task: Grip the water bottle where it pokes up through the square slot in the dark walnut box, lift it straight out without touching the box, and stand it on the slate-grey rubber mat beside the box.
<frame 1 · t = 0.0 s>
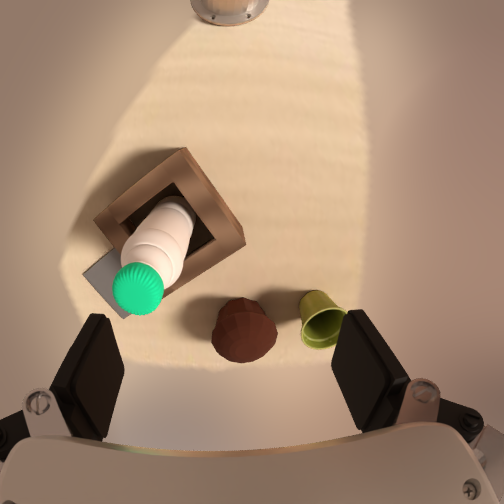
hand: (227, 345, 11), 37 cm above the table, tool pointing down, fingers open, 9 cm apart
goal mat: (123, 281, 50), on the table
muffin: (241, 315, 55), on the table
plant pot: (313, 302, 56), on the table
slot box: (174, 215, 46), on the table
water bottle: (175, 215, 46), resting in slot box
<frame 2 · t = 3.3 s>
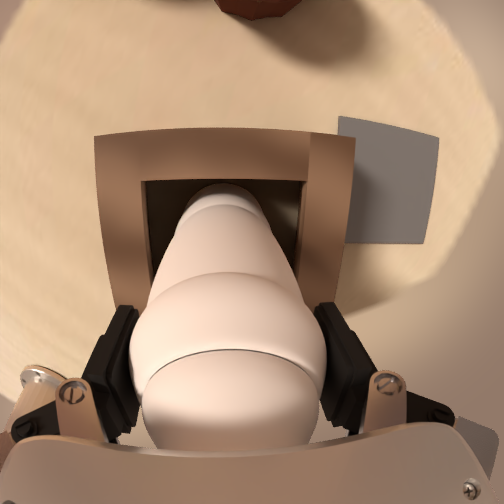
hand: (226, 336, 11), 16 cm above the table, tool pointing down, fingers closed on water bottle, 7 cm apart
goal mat: (388, 185, 26), on the table
slot box: (222, 220, 26), on the table
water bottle: (222, 220, 26), resting in slot box, touching gripper
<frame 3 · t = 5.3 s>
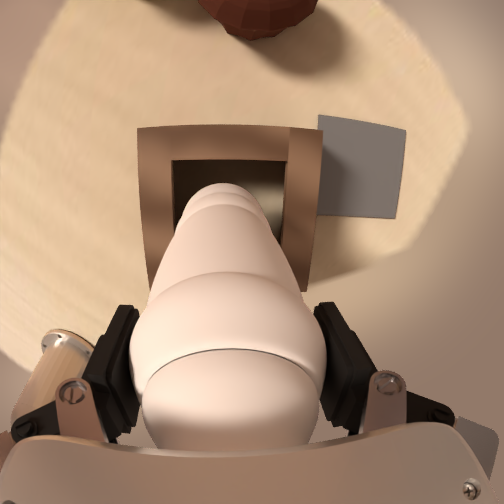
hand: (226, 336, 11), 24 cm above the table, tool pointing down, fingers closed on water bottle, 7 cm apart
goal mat: (360, 169, 33), on the table
muffin: (252, 10, 24), on the table
slot box: (227, 195, 33), on the table
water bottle: (222, 219, 26), point 8 cm above the table, touching gripper
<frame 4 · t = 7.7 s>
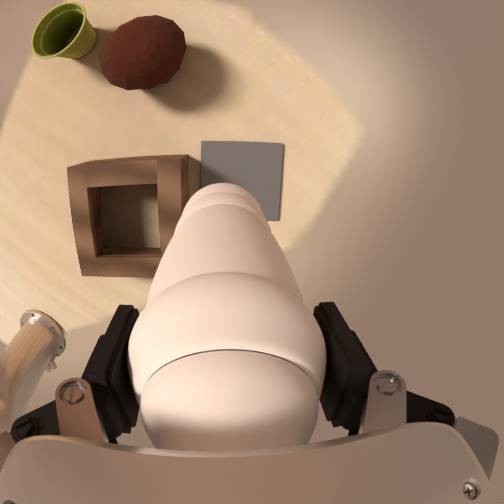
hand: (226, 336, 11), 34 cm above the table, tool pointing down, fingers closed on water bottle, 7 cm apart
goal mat: (241, 180, 43), on the table
muffin: (152, 62, 34), on the table
plant pot: (81, 42, 30), on the table
slot box: (138, 207, 42), on the table
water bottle: (222, 219, 26), point 18 cm above the table, touching gripper
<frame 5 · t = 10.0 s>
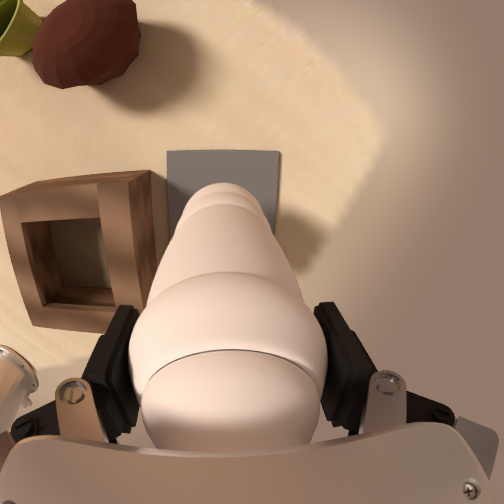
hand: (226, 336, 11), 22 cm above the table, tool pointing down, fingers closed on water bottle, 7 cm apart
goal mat: (222, 203, 32), on the table
muffin: (105, 50, 23), on the table
plant pot: (27, 36, 19), on the table
slot box: (94, 239, 32), on the table
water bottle: (222, 219, 26), point 7 cm above the table, touching gripper
when the fingers open (17 cm above the table, at t = 12.0 s): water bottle drops 1 cm, resting on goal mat.
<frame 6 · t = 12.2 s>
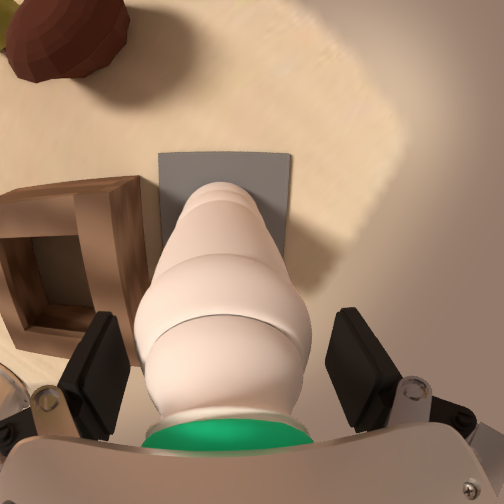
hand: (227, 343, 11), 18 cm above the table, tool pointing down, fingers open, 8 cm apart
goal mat: (223, 214, 27), on the table
muffin: (89, 39, 19), on the table
plant pot: (9, 28, 15), on the table
slot box: (79, 254, 27), on the table
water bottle: (220, 216, 27), resting on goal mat
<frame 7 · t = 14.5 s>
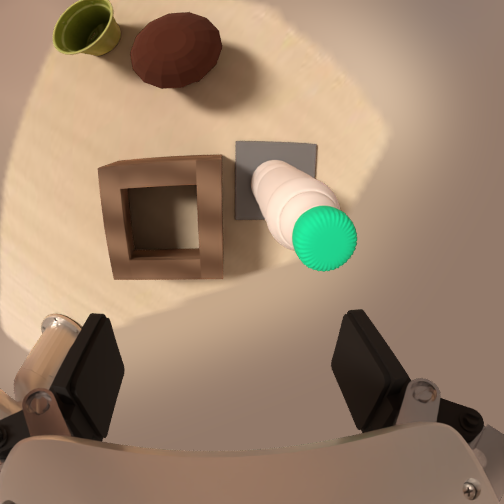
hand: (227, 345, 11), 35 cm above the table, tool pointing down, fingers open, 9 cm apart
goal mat: (275, 180, 43), on the table
muffin: (182, 60, 34), on the table
plant pot: (104, 39, 31), on the table
slot box: (170, 208, 43), on the table
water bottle: (273, 182, 43), resting on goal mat
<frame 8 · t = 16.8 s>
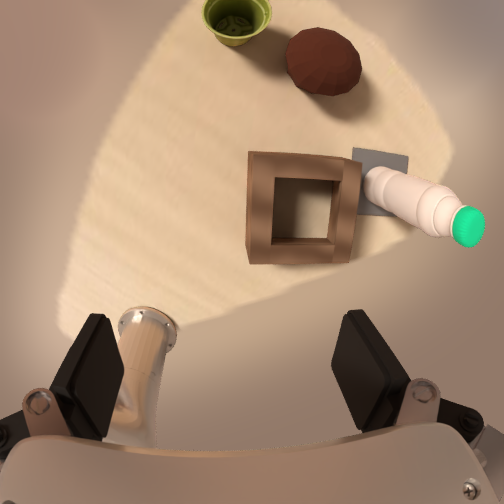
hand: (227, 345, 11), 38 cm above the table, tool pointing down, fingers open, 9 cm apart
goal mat: (378, 183, 48), on the table
muffin: (311, 69, 40), on the table
plant pot: (233, 31, 36), on the table
slot box: (294, 200, 48), on the table
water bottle: (377, 184, 48), resting on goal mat
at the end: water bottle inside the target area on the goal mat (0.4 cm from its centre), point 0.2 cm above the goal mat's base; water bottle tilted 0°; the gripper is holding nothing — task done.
